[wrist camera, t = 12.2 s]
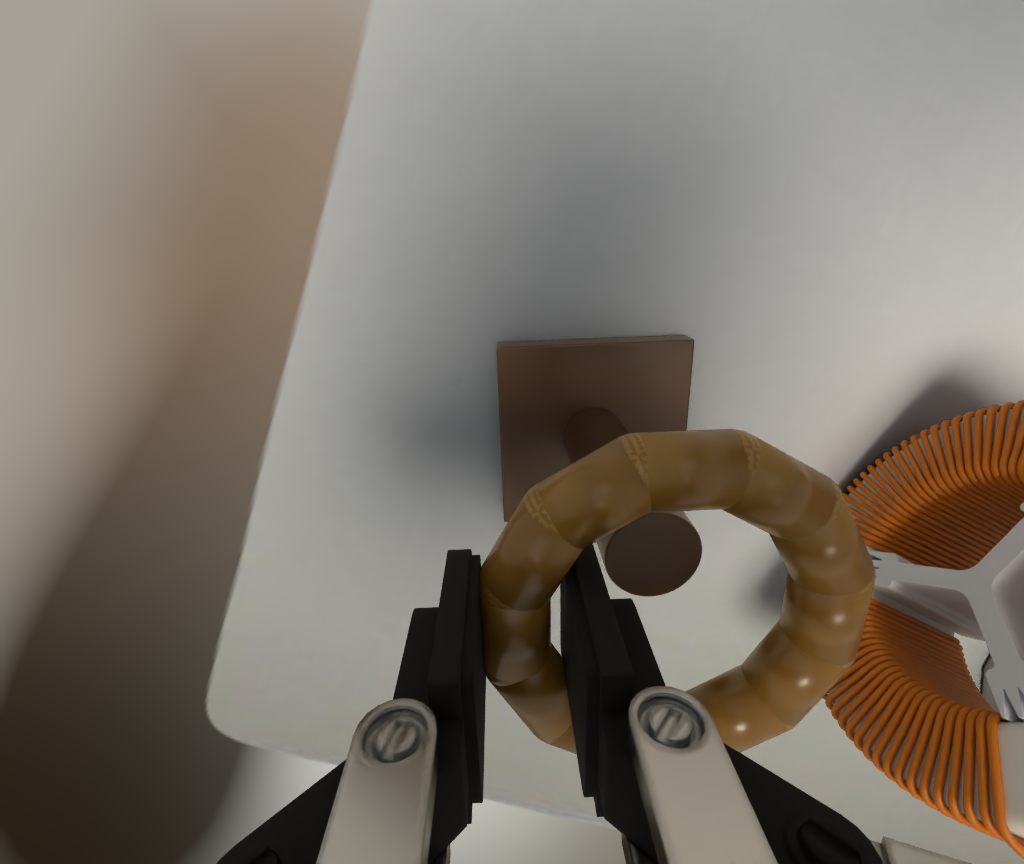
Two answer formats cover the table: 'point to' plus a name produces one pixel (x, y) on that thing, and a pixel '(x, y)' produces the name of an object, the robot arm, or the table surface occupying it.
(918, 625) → the coil
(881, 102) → the table surface
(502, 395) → the post stand
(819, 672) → the ring
